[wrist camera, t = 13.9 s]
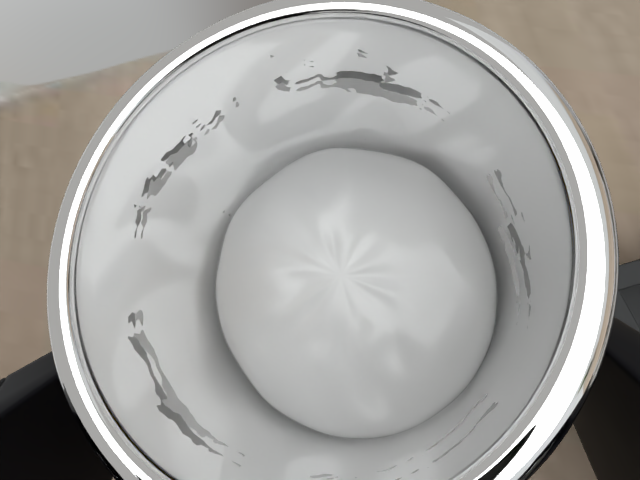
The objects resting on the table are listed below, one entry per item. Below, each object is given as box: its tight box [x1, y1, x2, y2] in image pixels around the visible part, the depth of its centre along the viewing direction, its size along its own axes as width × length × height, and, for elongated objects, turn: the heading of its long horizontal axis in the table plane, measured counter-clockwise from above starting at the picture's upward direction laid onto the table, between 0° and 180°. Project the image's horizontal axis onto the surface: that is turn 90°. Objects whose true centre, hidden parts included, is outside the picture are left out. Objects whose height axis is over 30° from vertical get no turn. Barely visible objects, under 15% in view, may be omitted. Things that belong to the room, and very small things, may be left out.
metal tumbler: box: [47, 0, 619, 480], centre depth 11 cm, size 7×7×15 cm
